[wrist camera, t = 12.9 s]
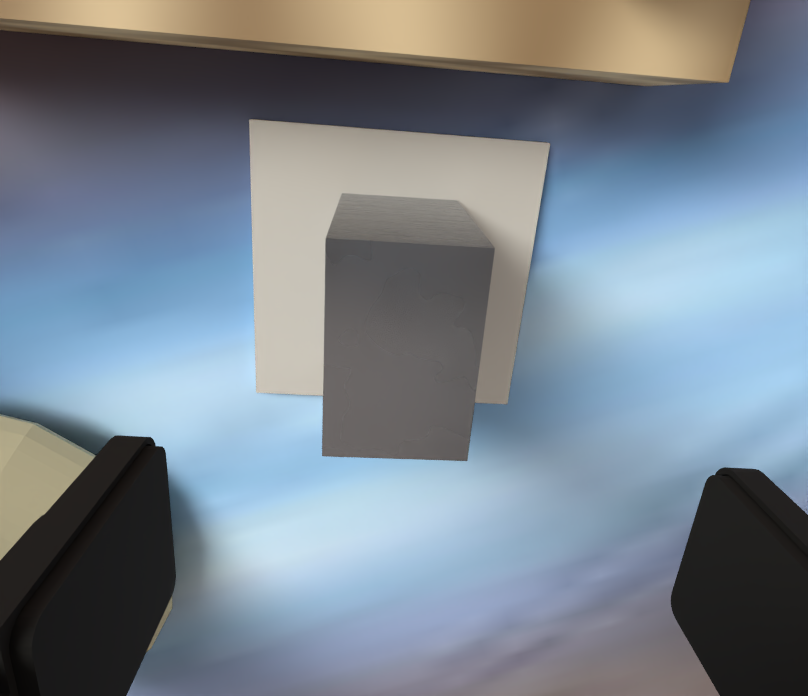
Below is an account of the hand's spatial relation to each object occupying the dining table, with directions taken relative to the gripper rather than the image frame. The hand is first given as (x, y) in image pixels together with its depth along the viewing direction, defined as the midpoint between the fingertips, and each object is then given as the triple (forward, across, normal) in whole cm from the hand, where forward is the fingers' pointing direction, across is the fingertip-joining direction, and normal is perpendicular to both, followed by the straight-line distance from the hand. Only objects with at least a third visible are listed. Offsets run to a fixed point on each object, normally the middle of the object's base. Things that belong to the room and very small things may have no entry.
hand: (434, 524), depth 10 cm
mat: (+13, +1, -1) cm, 13 cm away
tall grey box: (+12, +1, -1) cm, 13 cm away
